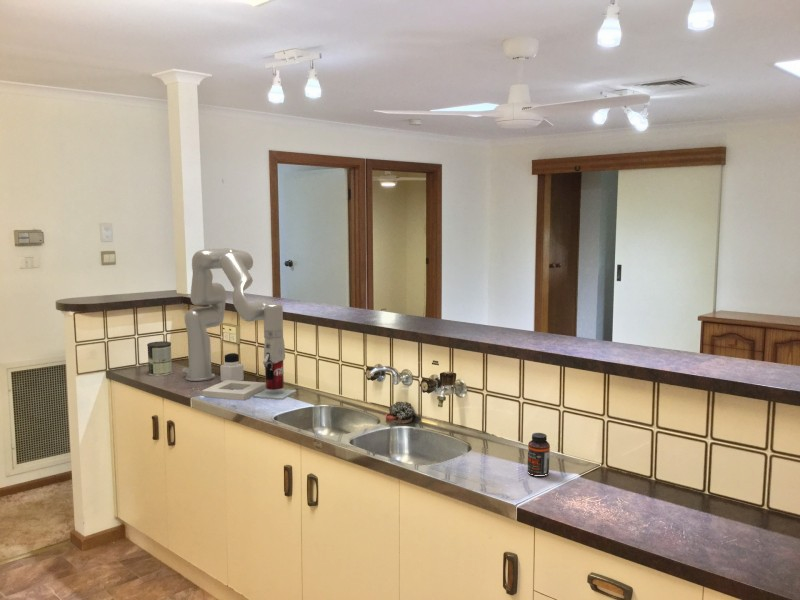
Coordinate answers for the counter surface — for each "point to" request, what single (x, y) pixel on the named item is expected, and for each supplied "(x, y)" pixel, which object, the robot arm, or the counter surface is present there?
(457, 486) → the counter surface
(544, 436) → the supplement bottle
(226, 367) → the medicine bottle
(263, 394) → the mat
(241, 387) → the collar dock
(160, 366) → the coffee can
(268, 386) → the soda can
